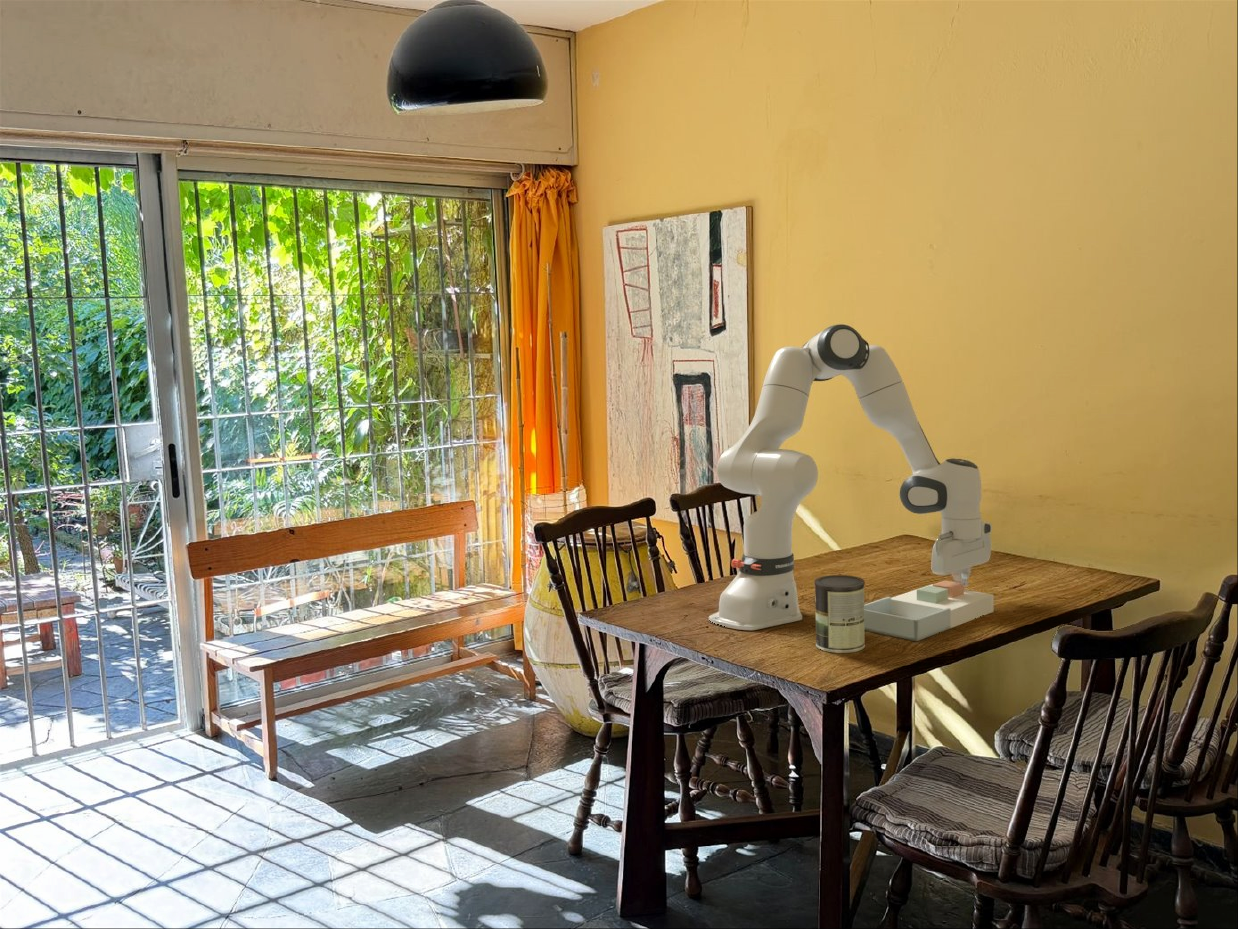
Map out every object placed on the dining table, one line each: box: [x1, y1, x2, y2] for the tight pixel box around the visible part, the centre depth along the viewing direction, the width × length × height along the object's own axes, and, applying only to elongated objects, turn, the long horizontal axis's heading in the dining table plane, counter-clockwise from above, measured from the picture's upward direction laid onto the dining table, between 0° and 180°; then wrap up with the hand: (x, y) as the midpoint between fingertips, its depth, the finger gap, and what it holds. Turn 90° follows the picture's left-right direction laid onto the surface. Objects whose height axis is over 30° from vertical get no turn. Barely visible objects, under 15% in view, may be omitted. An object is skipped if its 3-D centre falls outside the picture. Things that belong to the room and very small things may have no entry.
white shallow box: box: [891, 583, 995, 629], centre depth 259 cm, size 18×16×4 cm
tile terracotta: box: [933, 580, 965, 598], centre depth 261 cm, size 5×5×2 cm
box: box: [864, 596, 951, 642], centre depth 249 cm, size 13×16×4 cm
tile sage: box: [917, 585, 948, 604], centre depth 257 cm, size 5×5×2 cm
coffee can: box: [813, 574, 866, 654], centre depth 237 cm, size 10×10×14 cm
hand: (961, 587), depth 265 cm, fingers closed
